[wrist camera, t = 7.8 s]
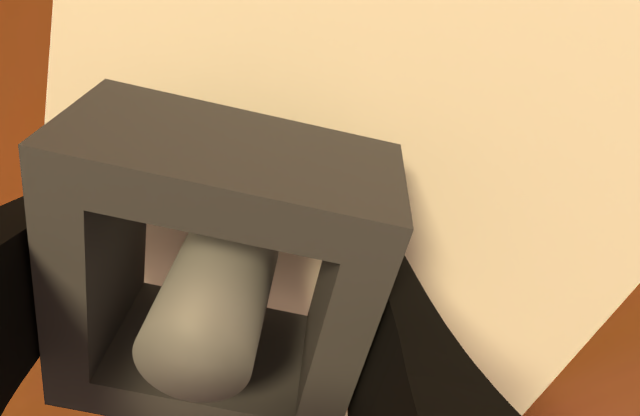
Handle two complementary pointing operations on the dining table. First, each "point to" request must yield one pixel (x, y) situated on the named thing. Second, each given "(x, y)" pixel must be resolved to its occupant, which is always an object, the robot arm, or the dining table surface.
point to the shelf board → (418, 157)
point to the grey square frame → (213, 221)
